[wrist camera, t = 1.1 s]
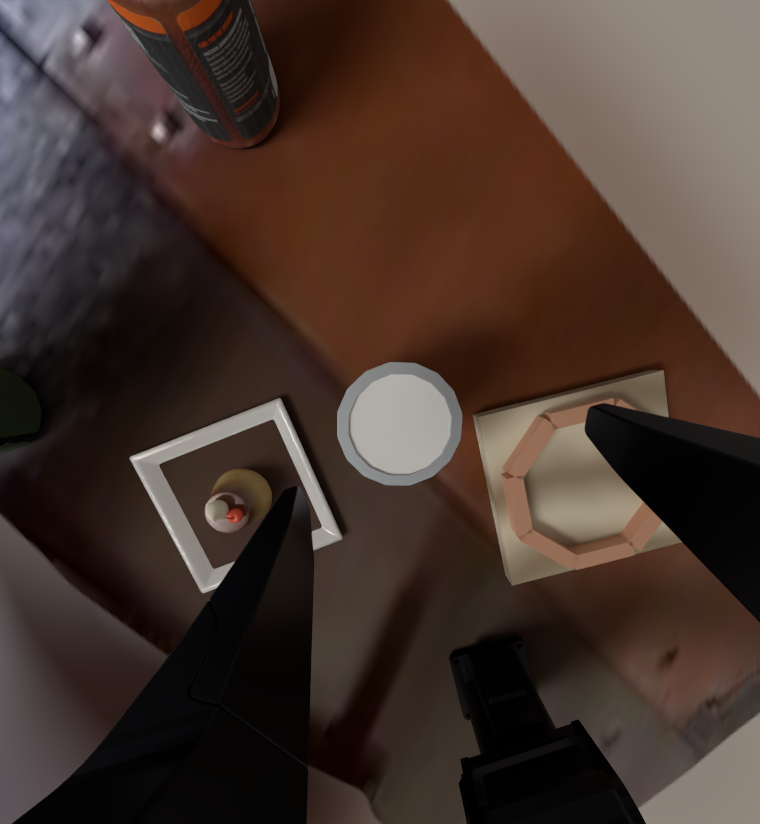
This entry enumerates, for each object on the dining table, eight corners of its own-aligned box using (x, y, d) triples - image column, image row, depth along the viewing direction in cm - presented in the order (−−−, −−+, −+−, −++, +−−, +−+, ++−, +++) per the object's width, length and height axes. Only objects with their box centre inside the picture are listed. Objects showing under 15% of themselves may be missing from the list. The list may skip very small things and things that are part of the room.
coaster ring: (671, 535, 25) (684, 542, 24) (520, 574, 25) (526, 582, 24) (654, 383, 23) (667, 384, 22) (490, 425, 23) (496, 427, 22)
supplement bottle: (293, 73, 20) (202, -294, 9) (268, 168, 21) (155, -61, 10) (202, 35, 20) (-16, -403, 8) (179, 134, 20) (-48, -149, 9)
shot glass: (405, 345, 23) (421, 335, 16) (452, 422, 24) (486, 444, 17) (327, 395, 23) (310, 407, 16) (376, 469, 24) (380, 510, 17)
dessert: (344, 531, 25) (339, 569, 21) (209, 584, 26) (173, 633, 21) (284, 395, 24) (263, 403, 19) (139, 453, 24) (83, 474, 19)
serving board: (667, 534, 26) (682, 542, 25) (505, 575, 26) (512, 585, 25) (648, 370, 24) (663, 370, 23) (472, 414, 24) (478, 417, 23)
